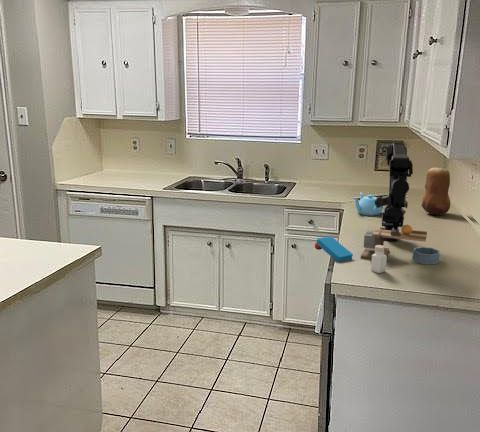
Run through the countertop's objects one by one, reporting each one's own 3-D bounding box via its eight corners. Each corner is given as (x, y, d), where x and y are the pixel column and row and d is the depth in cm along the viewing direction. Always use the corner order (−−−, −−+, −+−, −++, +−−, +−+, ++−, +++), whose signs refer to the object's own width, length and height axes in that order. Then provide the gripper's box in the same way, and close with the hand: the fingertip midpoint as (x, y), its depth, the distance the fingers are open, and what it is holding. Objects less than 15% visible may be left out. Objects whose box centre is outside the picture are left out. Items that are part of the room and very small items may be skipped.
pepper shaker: (386, 271, 175) (387, 246, 173) (379, 274, 173) (380, 248, 171) (377, 268, 178) (378, 243, 176) (370, 270, 176) (371, 245, 174)
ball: (401, 232, 190) (402, 223, 189) (412, 234, 188) (413, 224, 187) (400, 235, 186) (401, 225, 185) (411, 236, 185) (412, 226, 184)
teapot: (386, 212, 264) (387, 193, 261) (380, 218, 251) (381, 198, 248) (359, 209, 270) (360, 191, 268) (352, 215, 257) (353, 196, 255)
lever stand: (366, 248, 202) (367, 225, 200) (389, 250, 198) (390, 227, 196) (360, 258, 190) (361, 234, 187) (384, 261, 186) (385, 236, 184)
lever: (349, 269, 192) (322, 245, 205) (353, 254, 188) (325, 231, 202) (335, 272, 188) (309, 248, 202) (339, 257, 185) (312, 234, 199)
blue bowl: (413, 254, 193) (414, 245, 192) (439, 257, 189) (440, 248, 188) (411, 262, 184) (411, 253, 183) (438, 265, 180) (439, 256, 179)
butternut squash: (444, 211, 262) (448, 165, 256) (452, 217, 249) (457, 169, 243) (418, 211, 264) (421, 165, 258) (424, 217, 251) (428, 169, 245)
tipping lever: (367, 241, 199) (368, 224, 197) (425, 247, 190) (427, 229, 188) (363, 247, 191) (364, 229, 189) (424, 254, 182) (425, 235, 180)
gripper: (380, 184, 196) (378, 221, 200) (372, 193, 180) (370, 233, 183) (409, 186, 192) (406, 224, 196) (404, 195, 175) (401, 236, 179)
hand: (395, 229), depth 188 cm, fingers closed
